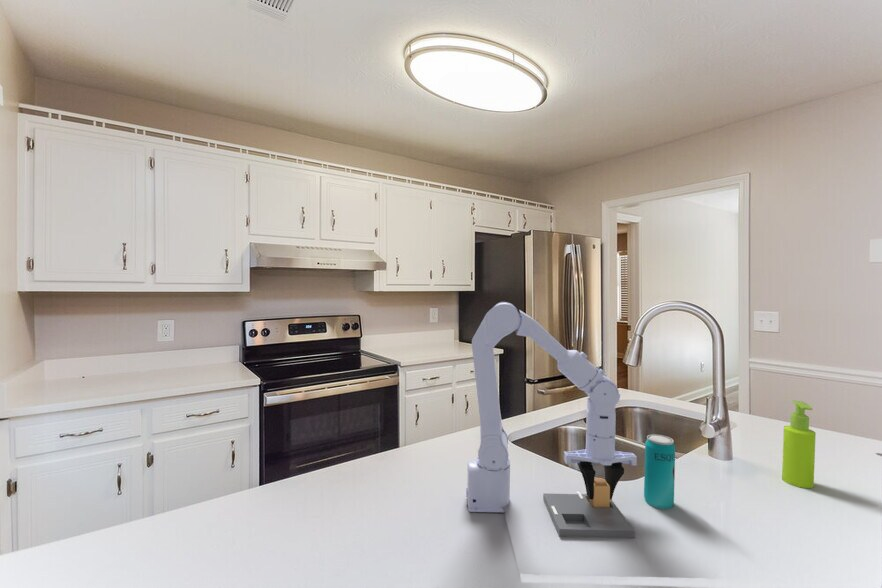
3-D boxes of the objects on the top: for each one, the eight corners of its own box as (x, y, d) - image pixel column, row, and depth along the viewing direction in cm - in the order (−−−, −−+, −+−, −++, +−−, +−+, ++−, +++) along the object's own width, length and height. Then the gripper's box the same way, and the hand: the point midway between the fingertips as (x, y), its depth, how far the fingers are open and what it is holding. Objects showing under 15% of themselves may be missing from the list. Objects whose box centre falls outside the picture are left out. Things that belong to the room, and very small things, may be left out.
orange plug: (593, 512, 85) (594, 483, 85) (588, 504, 88) (589, 476, 88) (609, 512, 85) (610, 484, 85) (603, 504, 88) (604, 476, 88)
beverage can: (677, 515, 86) (679, 444, 86) (648, 512, 87) (649, 442, 87) (668, 501, 92) (670, 434, 91) (640, 498, 93) (642, 432, 92)
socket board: (559, 541, 77) (559, 528, 77) (542, 501, 91) (542, 490, 91) (634, 543, 77) (634, 530, 77) (605, 502, 91) (605, 491, 91)
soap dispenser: (789, 487, 98) (792, 404, 98) (778, 475, 105) (780, 397, 104) (820, 492, 96) (823, 407, 96) (807, 479, 103) (810, 400, 102)
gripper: (571, 439, 82) (570, 506, 83) (644, 441, 82) (642, 508, 82) (561, 427, 89) (560, 489, 90) (628, 428, 89) (627, 490, 89)
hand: (599, 497), depth 87 cm, fingers open, 3 cm apart
